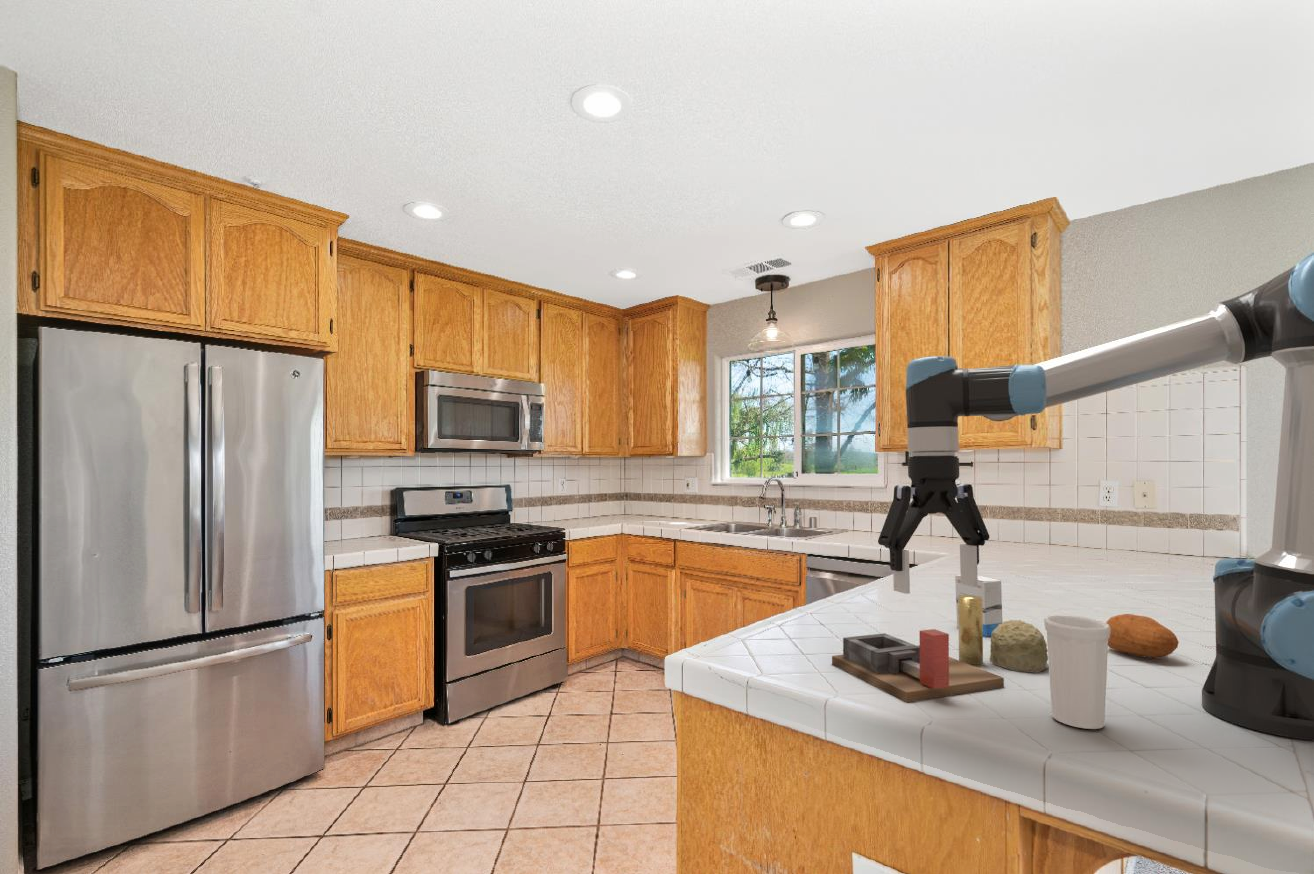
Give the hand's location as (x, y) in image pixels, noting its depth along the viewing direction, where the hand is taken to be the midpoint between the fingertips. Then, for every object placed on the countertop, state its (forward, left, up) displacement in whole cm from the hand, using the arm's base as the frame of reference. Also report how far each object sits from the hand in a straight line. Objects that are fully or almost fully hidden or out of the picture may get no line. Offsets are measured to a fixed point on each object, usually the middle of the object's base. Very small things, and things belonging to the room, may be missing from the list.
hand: (936, 588), depth 101 cm
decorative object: (+8, -26, -17) cm, 32 cm away
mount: (+9, -4, -17) cm, 20 cm away
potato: (+4, -53, -17) cm, 56 cm away
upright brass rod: (+11, -19, -17) cm, 28 cm away
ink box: (+27, -38, -17) cm, 49 cm away
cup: (-14, -12, -17) cm, 25 cm away
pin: (+4, 0, -15) cm, 16 cm away
